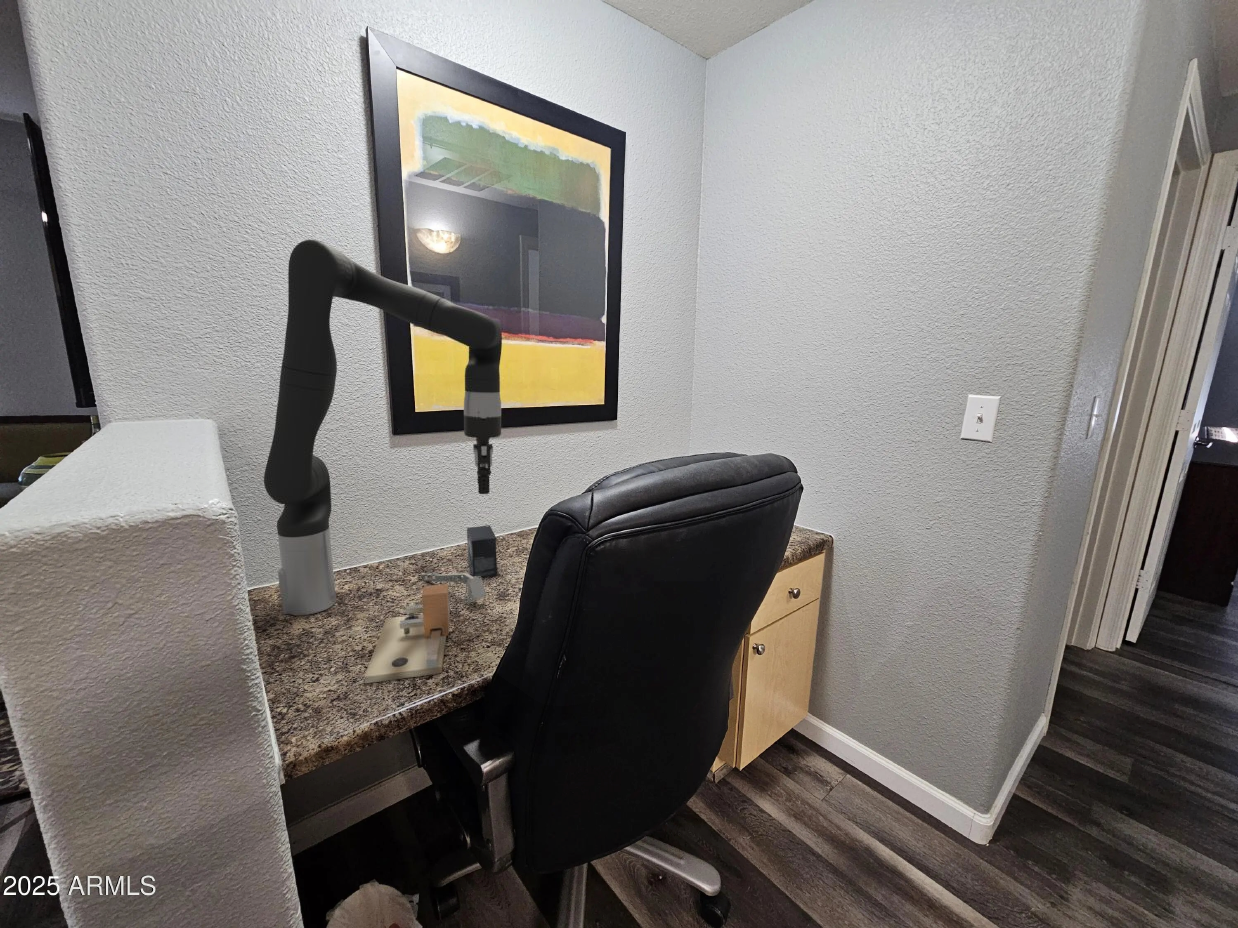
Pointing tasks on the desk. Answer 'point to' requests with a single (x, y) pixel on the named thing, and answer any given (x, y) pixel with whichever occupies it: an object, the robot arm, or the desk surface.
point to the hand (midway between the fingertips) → (483, 488)
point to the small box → (482, 551)
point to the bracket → (472, 582)
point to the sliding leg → (432, 611)
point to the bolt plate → (402, 653)
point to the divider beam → (434, 640)
